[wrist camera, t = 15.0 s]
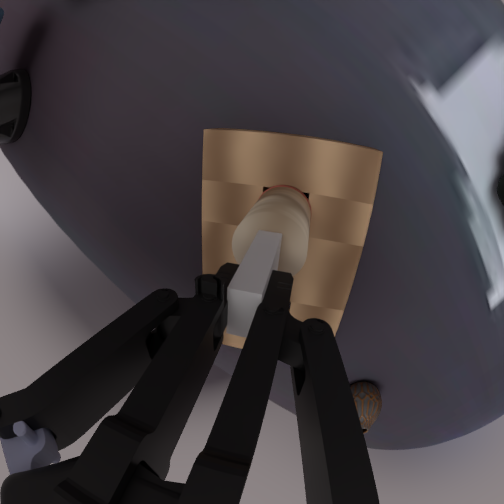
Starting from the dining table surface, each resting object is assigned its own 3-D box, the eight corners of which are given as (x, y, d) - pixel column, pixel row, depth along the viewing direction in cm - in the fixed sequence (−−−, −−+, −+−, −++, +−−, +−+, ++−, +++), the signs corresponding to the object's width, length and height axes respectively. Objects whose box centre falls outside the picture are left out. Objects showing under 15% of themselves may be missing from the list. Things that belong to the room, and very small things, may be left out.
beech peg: (261, 220, 29) (229, 275, 19) (265, 174, 27) (232, 206, 17) (308, 227, 28) (301, 288, 18) (315, 181, 26) (314, 218, 16)
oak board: (215, 321, 38) (205, 339, 35) (218, 128, 26) (203, 129, 23) (325, 342, 36) (324, 363, 32) (373, 148, 24) (382, 151, 20)
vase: (332, 388, 40) (329, 432, 32) (365, 370, 37) (367, 417, 29) (356, 402, 41) (355, 443, 33) (387, 386, 38) (391, 429, 30)
